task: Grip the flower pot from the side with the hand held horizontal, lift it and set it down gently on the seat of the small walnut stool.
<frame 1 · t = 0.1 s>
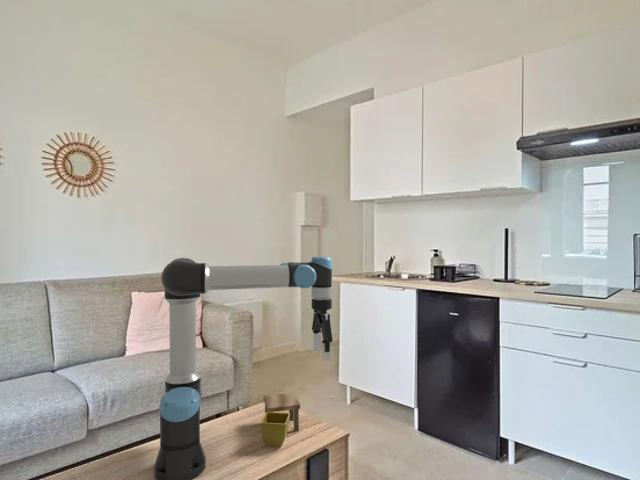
hand: (321, 355, 152), 28 cm above the table, tool pointing down, fingers open, 13 cm apart
flower pot: (275, 443, 142), on the table
stool: (281, 426, 155), on the table
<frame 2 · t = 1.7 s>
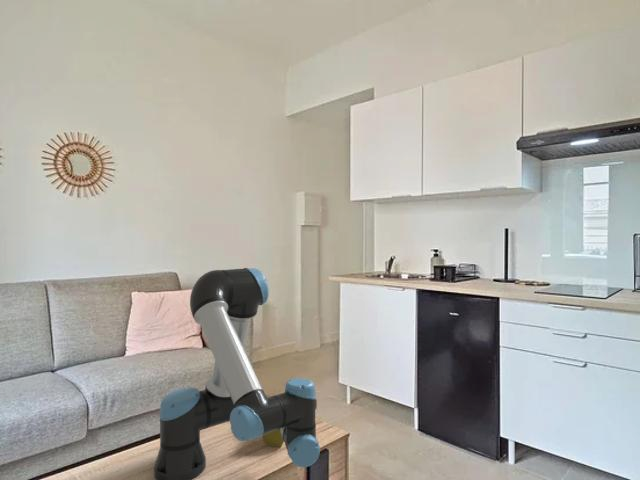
hand: (280, 397, 133), 20 cm above the table, tool horizontal, fingers open, 13 cm apart
nothing on the table moved.
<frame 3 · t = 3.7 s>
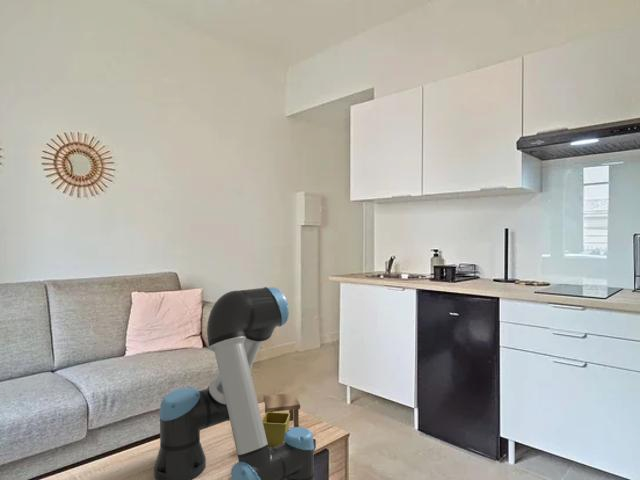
hand: (280, 435, 135), 6 cm above the table, tool horizontal, fingers open, 13 cm apart
nothing on the table moved.
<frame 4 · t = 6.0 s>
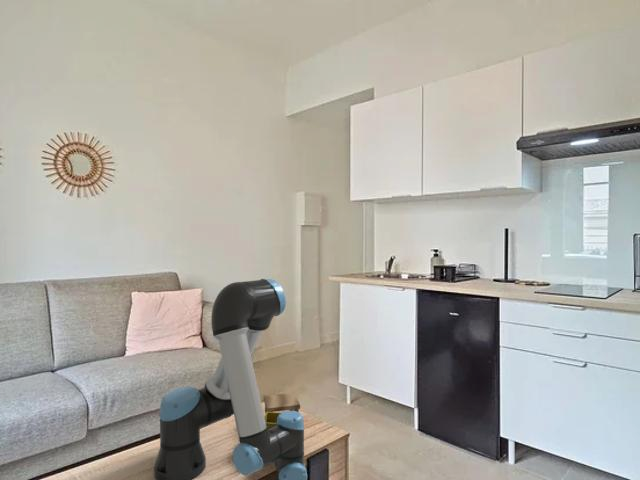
hand: (274, 420, 146), 6 cm above the table, tool horizontal, fingers closed on flower pot, 11 cm apart
flower pot: (275, 443, 142), on the table, touching gripper
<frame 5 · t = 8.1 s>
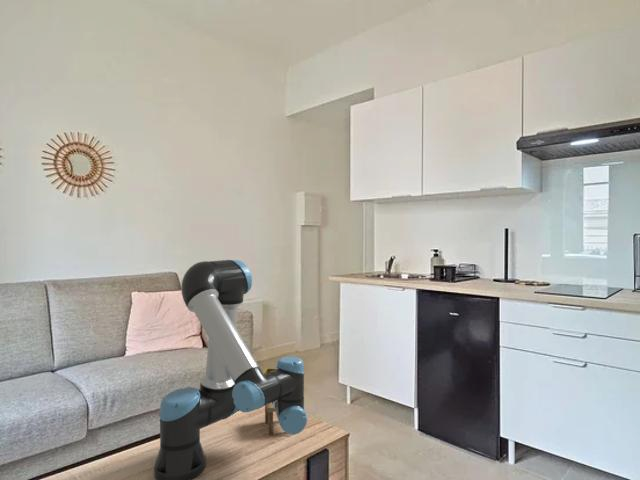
hand: (273, 376, 146), 22 cm above the table, tool horizontal, fingers closed on flower pot, 11 cm apart
flower pot: (275, 398, 142), point 16 cm above the table, touching gripper
when the fingers open (17 cm above the table, at t = 10.6 s): flower pot drops 1 cm, resting on stool.
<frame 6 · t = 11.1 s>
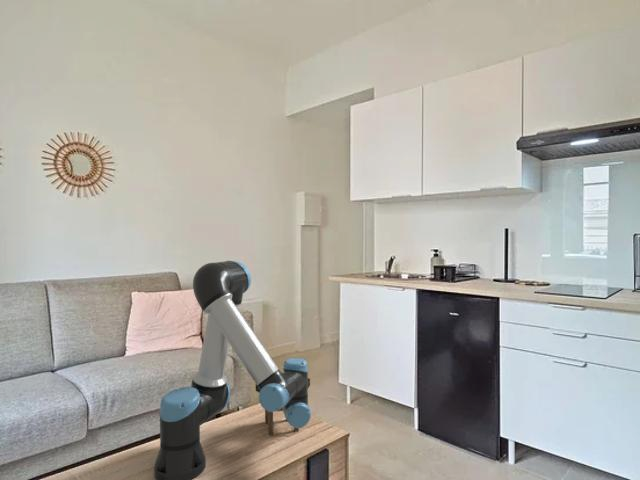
hand: (279, 377, 158), 18 cm above the table, tool horizontal, fingers open, 13 cm apart
flower pot: (283, 400, 155), point 10 cm above the table, touching stool
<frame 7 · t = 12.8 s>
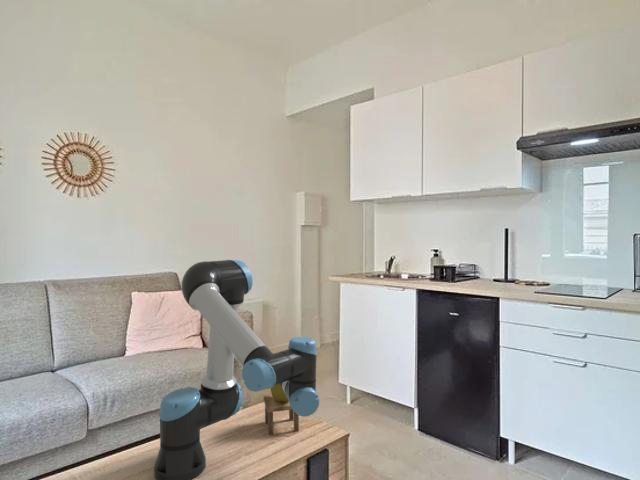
hand: (281, 360, 141), 29 cm above the table, tool horizontal, fingers open, 13 cm apart
nothing on the table moved.
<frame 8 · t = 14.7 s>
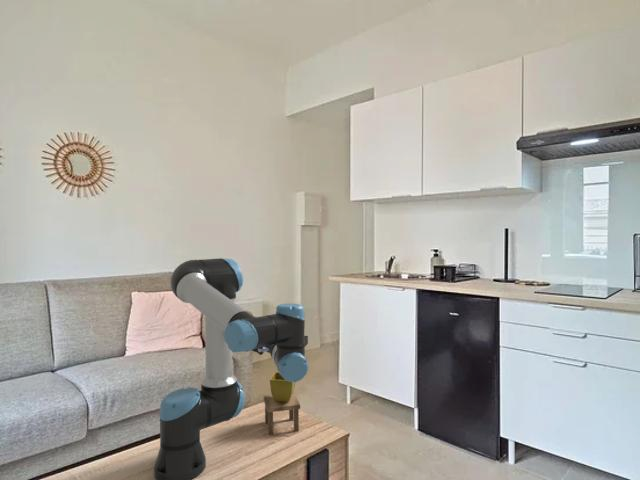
hand: (273, 336, 139), 38 cm above the table, tool horizontal, fingers open, 13 cm apart
nothing on the table moved.
at the end: flower pot inside the target area on the stool (0.9 cm from its centre), point 9.8 cm above the stool's base; flower pot tilted 0°; the gripper is holding nothing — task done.
